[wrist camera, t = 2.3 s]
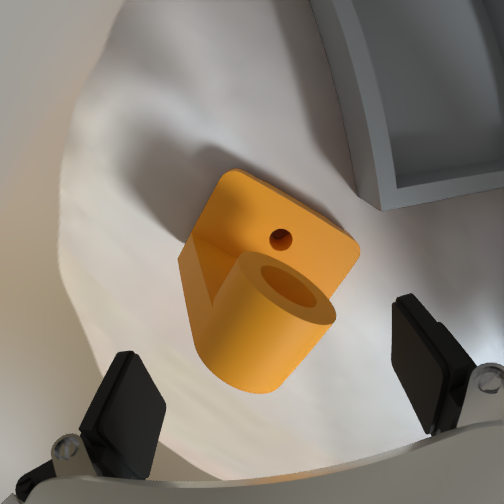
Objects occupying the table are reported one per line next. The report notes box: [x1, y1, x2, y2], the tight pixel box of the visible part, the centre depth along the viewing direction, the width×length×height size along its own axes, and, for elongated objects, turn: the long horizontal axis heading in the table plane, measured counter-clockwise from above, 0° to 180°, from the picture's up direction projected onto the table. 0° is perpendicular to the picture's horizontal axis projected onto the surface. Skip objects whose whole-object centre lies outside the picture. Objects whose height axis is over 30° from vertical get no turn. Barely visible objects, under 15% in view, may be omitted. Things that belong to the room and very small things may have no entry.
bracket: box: [178, 168, 360, 394], centre depth 18 cm, size 11×7×12 cm
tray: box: [309, 0, 504, 212], centre depth 16 cm, size 18×20×5 cm
